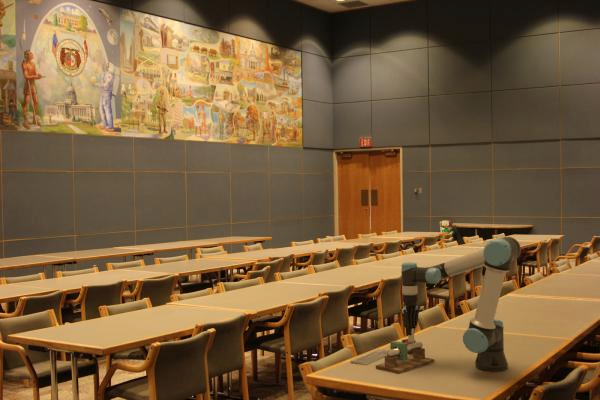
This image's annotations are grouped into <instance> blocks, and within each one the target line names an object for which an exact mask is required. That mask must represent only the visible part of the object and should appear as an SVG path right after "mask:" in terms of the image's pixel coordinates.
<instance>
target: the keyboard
mask: <svg viewBox="0 0 600 400" xmlns="http://www.w3.org/2000/svg"><path fill="white" fill-rule="evenodd" d="M387 351H388V350H386V349H381V348H376V349H375V350H372V351H370V352H368V353H365V354H362V355H361V356H359V357H356V358H354V359H352V360H350V361H349V362H350V363H351V364H355V365H360V366H361V365H362V366H369V365H372V364H374V363H375V362H378V361H380V360H382V359H385V356H387Z"/></svg>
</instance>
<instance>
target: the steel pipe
mask: <svg viewBox="0 0 600 400" xmlns="http://www.w3.org/2000/svg"><path fill="white" fill-rule="evenodd" d="M419 348H423V343H422V342H421V341H416V343H413V344H409V345H407V352H409V351H413V350H416V349H419ZM395 355H401V351H400V347H397V348H395V349H392V350H391V349H388V350H387V356H388V357H392V356H395Z"/></svg>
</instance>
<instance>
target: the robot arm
mask: <svg viewBox="0 0 600 400" xmlns="http://www.w3.org/2000/svg"><path fill="white" fill-rule="evenodd" d="M521 252H522V248H521V244H520V242H519V241H518V240H517V239H516V238H514V237H510V236H504V237H498V238H493V239H492V240H490V241H488V242H486V244H485V245H484V248H483V249H480V250H477V251H473V252H472V253H469V254H466V255H463V256H460V257H457V258H455V259H450V260H448V261H444V262H443V263H440V264H436V265H432V266H427V267H424V266H423V267H420V266H418V264H417V262H412V261H410V262H409V261H408V262H407V261H406V262H403V263H402V264H401V286H402V287H401V288H402V289H401V290H402V291H401V293H402V297H401V298H402V299H401V300H402V302H403V308H401V309H399V310H400V313H401V317H402V321H403V326H404V328H405V329H406V330H407V339H408V341H409V342H414V340H415V333H416V332H415V329H417V327H418V323H419V316H420V315H419V314H420V311H421V307H420V306H418V305H417V302H418V301H419V297H418V296H419V295H418V284H419V283H422V284H424V283H425V284H430V285H433V284H439V283H440V281H443V280H446V279H448V278H450V277H453V276H457V275H460V274H463V273H466V272H469V271H473V270H475V269H478V268H481V267H484V268H485V273H484V277H483V281H482V283H481V284H482V285H481V289H480V293H479V296H478V297H479V298H478V300H477V305H476V310H475V314H474V316H473V317H472V318H471V319H470V320H469V325H468V327H467V329H465V331H464V333H463V335H462V342H463V345H464V346H465V348H466V349H467V350H468V351H470V352H471V353H474V354H477V355H476V357H475V362H474V365H475V366H474V367H475V368H476V369H478V370H480V371H484V372H485V371H487V372H502V371H507V369H509V362H508V361H507V356H506V355H505V349H504V347H505V346H504V344H505V342H504V341H505V340H504V328H505V327H504V322H503V320H500V319H495V317H496V313H497V308H498V305H499V300H500V297H501V292H502V290H503V289H502V288H503V284H504V280H505V276H506V273H509V272H510V271H511V267H512V262H514V261H516V260H517V259H518V258H519V257H520V255H521Z"/></svg>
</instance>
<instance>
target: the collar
mask: <svg viewBox="0 0 600 400" xmlns="http://www.w3.org/2000/svg"><path fill="white" fill-rule="evenodd" d="M389 342H390V348H389V350H392V349H395V348H398V347H400V351H401V354H400V355H395V357H397V360H401V361H406V360H408V356H409V354H407V343H402V341H395V340H392V341H389Z"/></svg>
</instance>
